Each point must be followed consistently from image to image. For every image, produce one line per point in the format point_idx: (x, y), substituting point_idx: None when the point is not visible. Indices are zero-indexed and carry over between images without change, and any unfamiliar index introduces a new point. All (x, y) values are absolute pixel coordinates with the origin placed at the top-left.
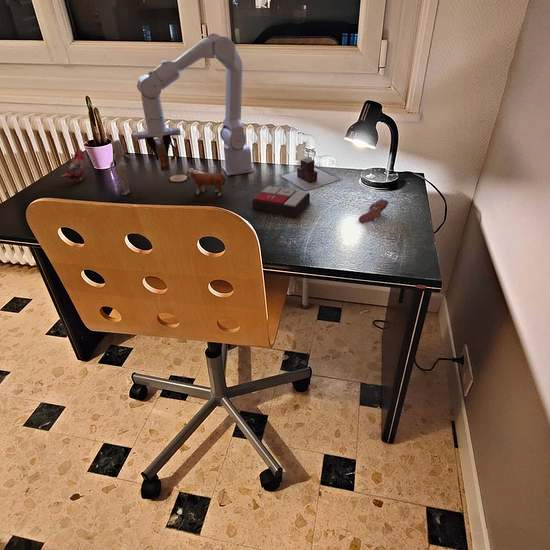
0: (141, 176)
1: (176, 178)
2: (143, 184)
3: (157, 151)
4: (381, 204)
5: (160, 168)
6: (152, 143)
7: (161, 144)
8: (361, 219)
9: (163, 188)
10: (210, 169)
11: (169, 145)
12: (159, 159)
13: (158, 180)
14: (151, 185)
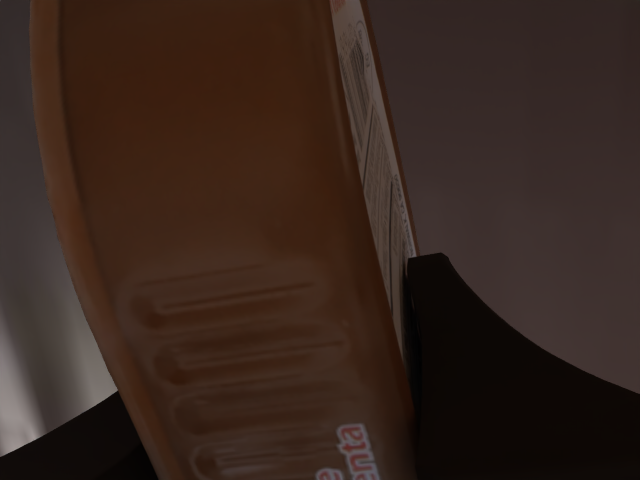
0: (628, 388)
1: None
2: (620, 208)
3: (398, 324)
4: None
5: (389, 115)
6: (533, 443)
7: (217, 424)
8: None
9: (400, 69)
10: (17, 405)
11: (51, 434)
12: (369, 138)
13: (460, 275)
14: (534, 169)
